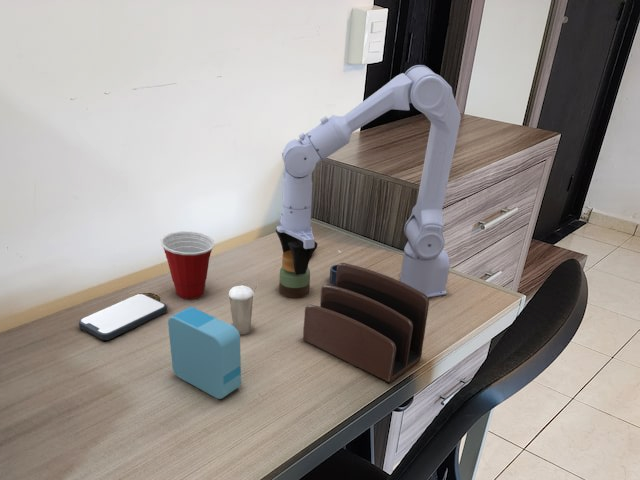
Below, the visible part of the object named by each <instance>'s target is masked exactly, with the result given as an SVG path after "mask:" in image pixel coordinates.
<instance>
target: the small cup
mask: <svg viewBox="0 0 640 480" xmlns="http://www.w3.org/2000/svg"><path fill="white" fill-rule="evenodd" d="M338 264H339V263H337V264H333V265H331V266H330V268H329V284H330V285H332V286H336V276H337V266H338Z"/></svg>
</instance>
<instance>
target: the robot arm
mask: <svg viewBox="0 0 640 480" xmlns="http://www.w3.org/2000/svg"><path fill="white" fill-rule="evenodd" d="M410 104H412V106H413V107H414V109H416V110H417V111H419V112H421V113H422V114H424V116H425V117H426V118H427V120H428V121H429V122H430V128H429V134H428V137H427V145H426V150H425V156H424V162H423V166H422V172H421V176H420V177H421V178H420V183H419V189H418V194H417V199H416V203H415V205H414V206H413V207H412V209H411V213H410V216H409V218H408V219H407V220H406V221H405V222H406V223H405V224H404V229H403V230H404V231H403V232H404V236H405V237H406V238H407V242H406V244H405V246H404V249H403V255H402V262H401V269H400V276H399V281H400V282H402V283H405V284H407V285H409V286H411V287H412V288H414V289H416V290H418V291H420V292H422V293H423V294H425V295H426V296H427V297H428V298H434V297H439V296H445V295H448V291H447V290H446V289H447V283H448V278H449V272H450V267H451V266H450V264H451V263H450V256H449V253H448V252H447V251H446V250H445V243H446V241H445V237H444V226H445V224H444V216H443V208H444V203H445V197H446V194H447V189H448V183H449V178H450V173H451V170H452V165H453V160H454V159H453V158H454V154H455V149H456V145H457V140H458V136H459V135H458V134H459V130H460V125H461V120H462V115H461V112H460V109H459V107H458V104H457V101H456V99H455V96H454V93H453V87H452V86H451V85H450V84H449V83H448V81H446V80H445V79H444V78H443V77H442V76H441V75H439V74H437V73H435V72H434V71H433V70H432V69H431V68H429V67H428V66H426V65H425V64H416V65H413V66H411V67H410V68H408V69H407V70H406V71H405V73H404V72H402V73H399V74H398V75H396V76H394V77H393V78H392V79H390V81H388V82H387V83H386V84H384V85H382V87H381V88H379V89H378V90H377V91H375V92H374V93H372V94H371V95H370V96H368V97H367V98H366V99H365V100H363V101H362V102H360V103H359V104H357V105H356V106H355V107H354V108H352V109H351V110H350V111H348V112H347V113H346V114H344V115H343V116H341V115H336V114H335V115H334V114H333V115H330V117H328V116H326V115H325V116H323V117H322V118H320V120H319V121H320V123H319V124H317V125H316V126H315V127H313V128H312V129H311V130H309V131H308V132H305V133H304V132H301V133H299V135H298V139H296V138H294V139H292V140H290V141H288V142H287V143H286V145H285V146H284V148H283V152H281V158H282V160H283V165H284V171H283V181H282V212H281V213H279V218H278V221H279V224H280V225H277V226H276V228H275V233H276V236H277V237H278V239H279V242H280V245H281V249H282V254H283V253H284V252H286V251H289V250H291V252H292V255H293V262H294V271H295V274H296V275H299V274H305V273H306V270H307V267H308V268H309V264H310V261H311V258H312V256H313V254H314V252H315V251H316V250H317V249H318V243H317V241H316V239H315V237H314V235H313V226H312V206H313V205H312V204H313V180H312V178H313V172H314V171H315V168H316V166H317V163H321V162H322V161H324V160H325V159H327V158H329V157H330V156H332V155H333V154H335V153H336V152H337V151H339V150H340V149H342V148H344V147H345V146H346V145H348V144H350V140H351V137H352V134H353V133H354V132H356V131H357V130H359V129H361V128H362V127H364V126H366V125H368V124H369V123H371V122H372V121H374V120H375V119H377V118H379V117H380V116H382V115H384V114H385V113H387V112H389V111H391V110H395V111H396V110H398V111H410V110H411V109H410Z"/></svg>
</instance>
